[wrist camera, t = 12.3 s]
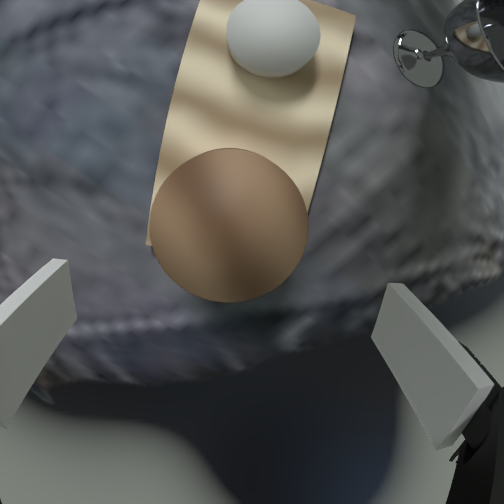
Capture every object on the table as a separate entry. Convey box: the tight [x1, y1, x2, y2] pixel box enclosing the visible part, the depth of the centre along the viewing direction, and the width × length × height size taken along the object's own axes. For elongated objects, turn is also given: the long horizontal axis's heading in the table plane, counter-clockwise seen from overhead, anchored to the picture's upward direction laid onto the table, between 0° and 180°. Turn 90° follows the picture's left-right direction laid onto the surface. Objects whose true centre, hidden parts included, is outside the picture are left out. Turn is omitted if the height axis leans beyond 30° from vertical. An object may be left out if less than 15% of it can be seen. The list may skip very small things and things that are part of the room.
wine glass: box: [393, 0, 504, 87], centre depth 19 cm, size 8×8×15 cm
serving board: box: [146, 0, 356, 246], centre depth 28 cm, size 28×15×2 cm, turn 167°
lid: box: [149, 148, 309, 303], centre depth 23 cm, size 11×11×3 cm
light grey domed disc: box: [226, 0, 321, 78], centre depth 23 cm, size 8×8×3 cm
